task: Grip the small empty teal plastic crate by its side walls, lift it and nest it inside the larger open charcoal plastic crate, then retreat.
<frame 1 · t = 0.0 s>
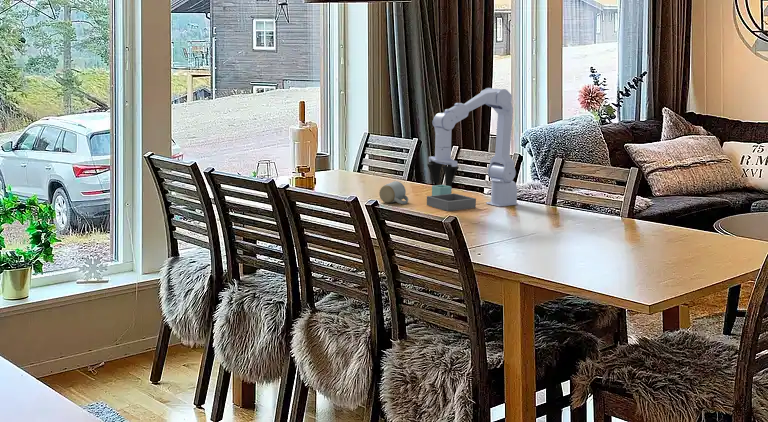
hand: (442, 184, 340), 10 cm above the table, tool pointing down, fingers open, 7 cm apart
big crate: (451, 206, 352), on the table
ceramic mug: (395, 203, 360), on the table
small crate: (441, 200, 365), on the table
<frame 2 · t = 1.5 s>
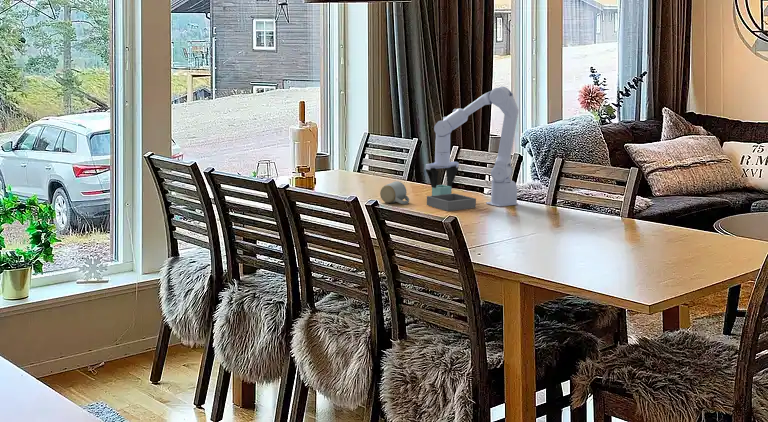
hand: (441, 186, 364), 5 cm above the table, tool pointing down, fingers open, 7 cm apart
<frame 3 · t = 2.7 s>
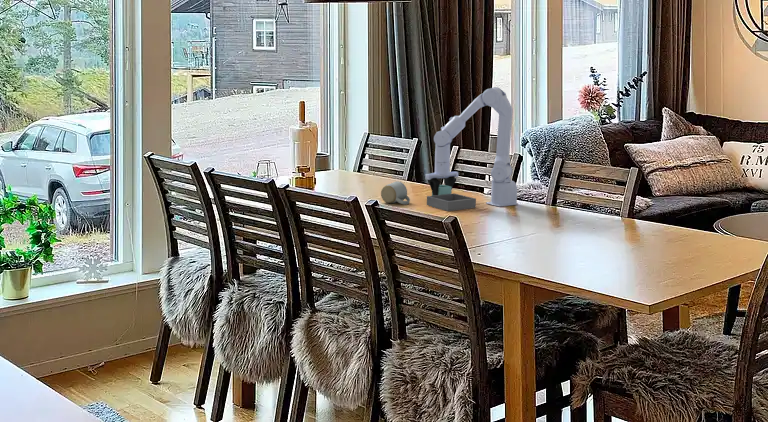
hand: (441, 196, 365), 1 cm above the table, tool pointing down, fingers closed on small crate, 5 cm apart
small crate: (441, 200, 365), on the table, touching gripper
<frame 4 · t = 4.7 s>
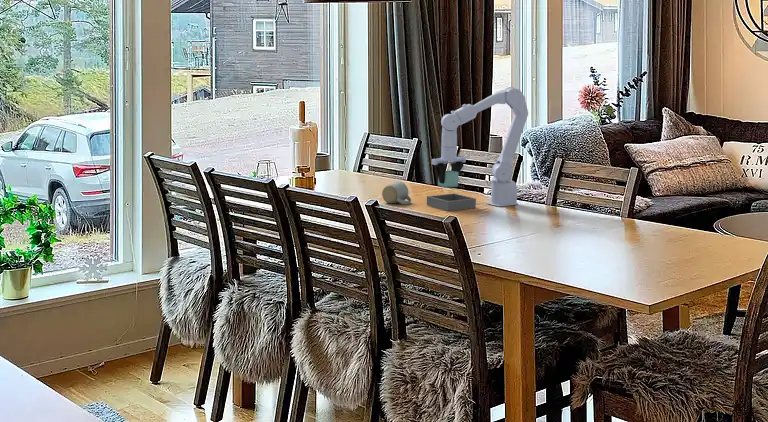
hand: (448, 182, 355), 8 cm above the table, tool pointing down, fingers closed on small crate, 5 cm apart
small crate: (448, 186, 355), point 7 cm above the table, touching gripper
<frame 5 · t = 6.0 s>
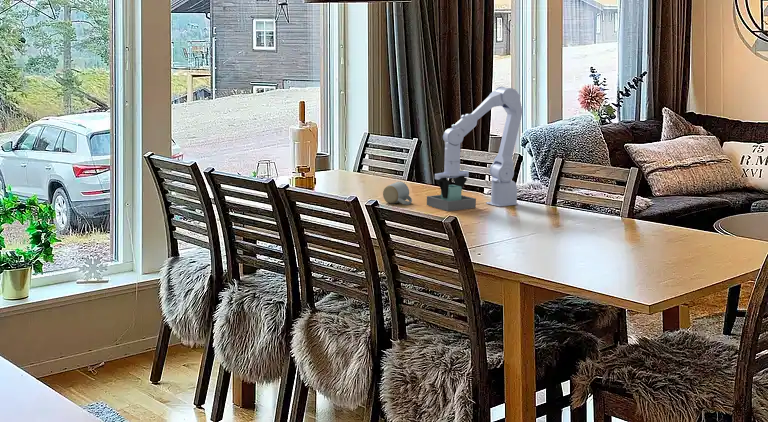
hand: (451, 197, 351), 4 cm above the table, tool pointing down, fingers closed on small crate, 5 cm apart
small crate: (451, 200, 352), point 2 cm above the table, touching gripper
when the fingers open (4 cm above the table, at t = 6.9 s): small crate drops 1 cm, resting on big crate.
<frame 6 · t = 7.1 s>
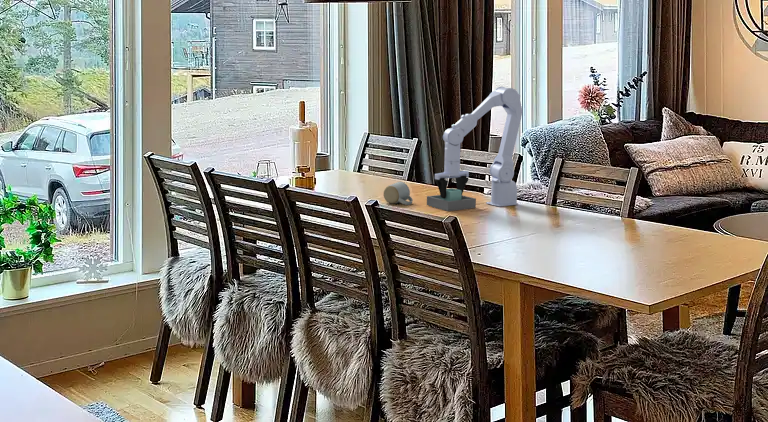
hand: (451, 197, 351), 4 cm above the table, tool pointing down, fingers open, 7 cm apart
small crate: (450, 204, 352), point 1 cm above the table, touching big crate
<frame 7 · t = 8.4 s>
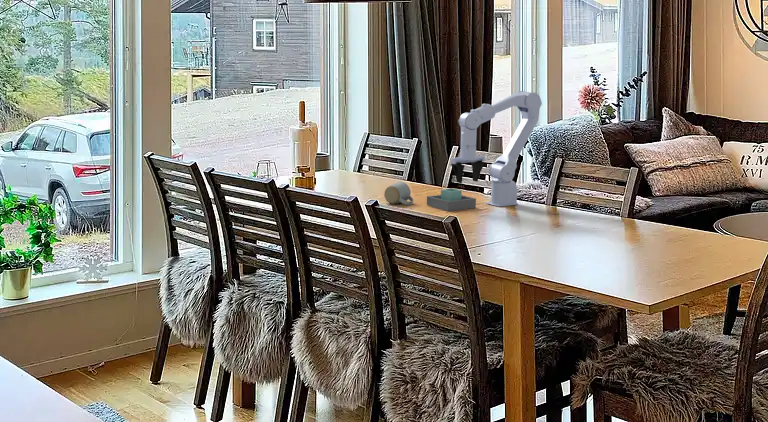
hand: (467, 181, 351), 9 cm above the table, tool pointing down, fingers open, 7 cm apart
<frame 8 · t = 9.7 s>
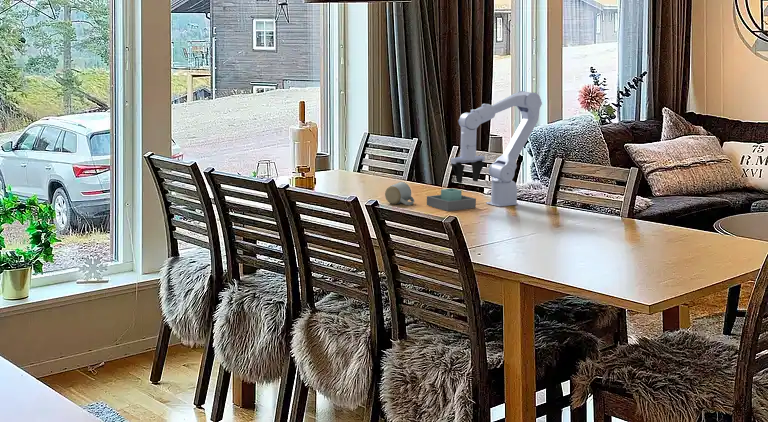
hand: (467, 181, 351), 9 cm above the table, tool pointing down, fingers open, 7 cm apart
at the end: small crate 0.1 cm off-centre on the big crate, point 0.8 cm above the big crate's base; small crate tilted 0°; the gripper is holding nothing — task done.
